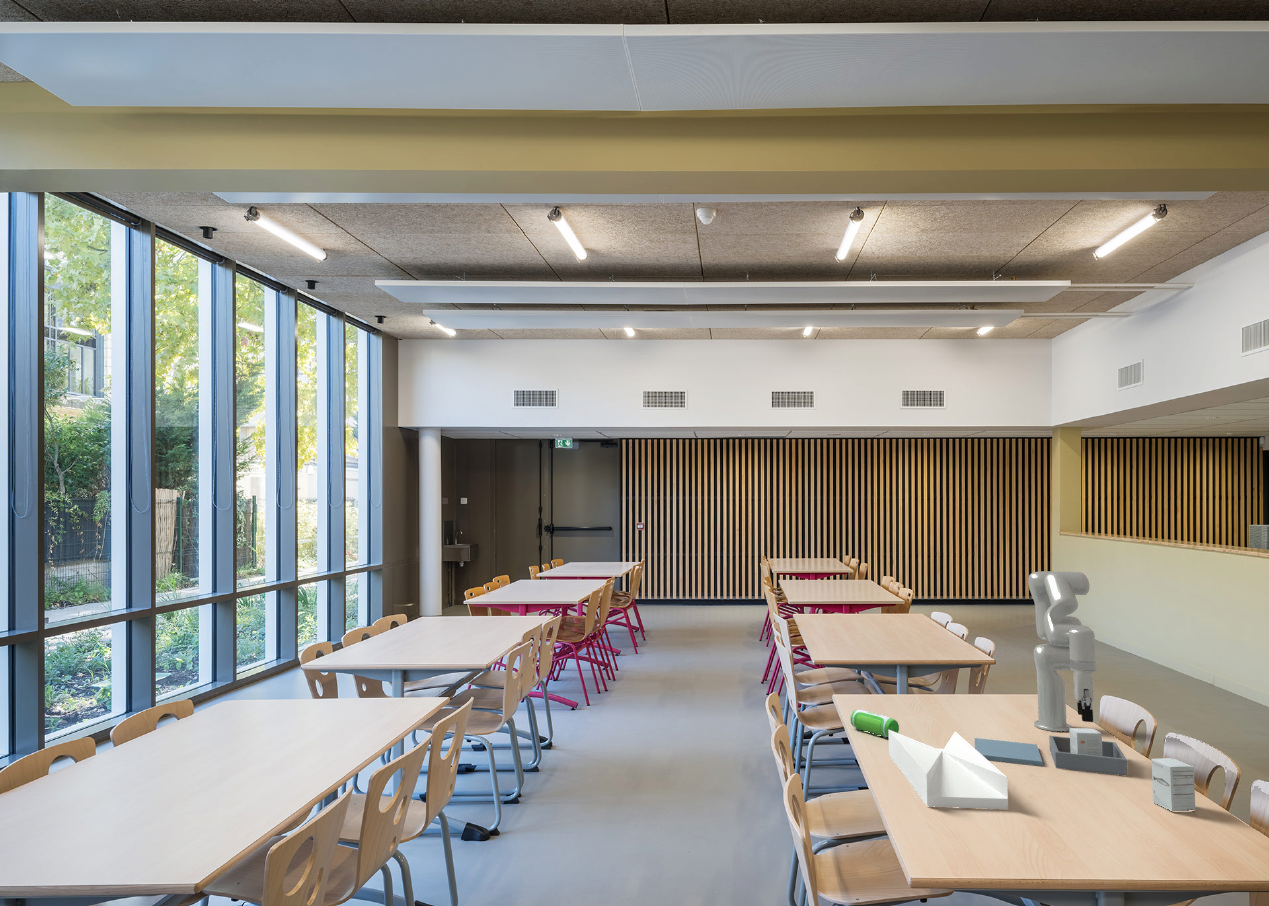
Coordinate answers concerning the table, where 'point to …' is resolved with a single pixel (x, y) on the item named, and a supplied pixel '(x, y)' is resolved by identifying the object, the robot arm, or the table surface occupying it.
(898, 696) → the table surface
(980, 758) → the building model
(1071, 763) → the rectangular frame
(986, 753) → the board
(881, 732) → the speaker
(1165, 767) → the supplement box
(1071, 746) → the small box
